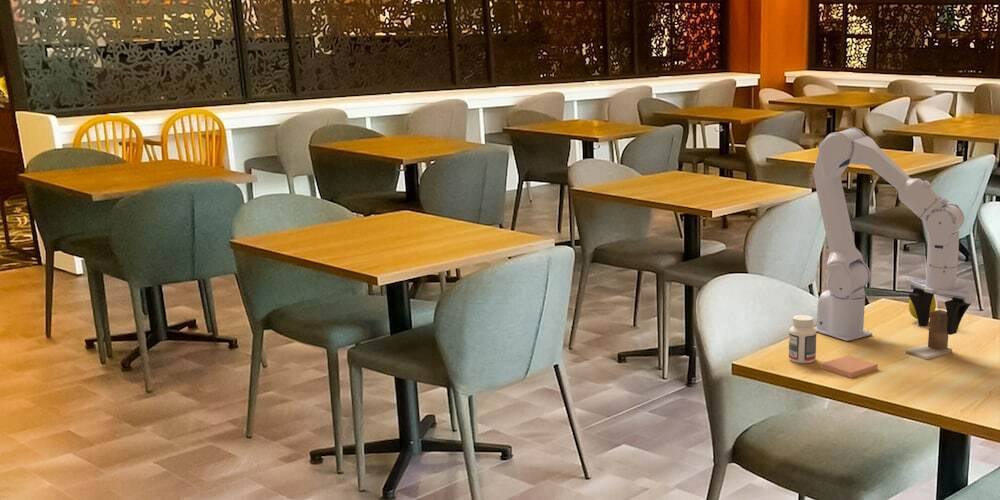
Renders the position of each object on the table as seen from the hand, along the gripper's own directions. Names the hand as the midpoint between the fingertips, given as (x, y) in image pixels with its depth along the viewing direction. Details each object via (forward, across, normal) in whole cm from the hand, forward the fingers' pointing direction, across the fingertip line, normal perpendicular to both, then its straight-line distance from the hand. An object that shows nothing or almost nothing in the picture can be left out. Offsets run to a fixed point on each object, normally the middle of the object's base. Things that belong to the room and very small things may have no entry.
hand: (937, 329), depth 210 cm
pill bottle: (+5, -12, -26) cm, 29 cm away
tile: (+4, -3, -19) cm, 19 cm away
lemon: (+5, -14, +14) cm, 20 cm away
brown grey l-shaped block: (+4, 0, -2) cm, 5 cm away
